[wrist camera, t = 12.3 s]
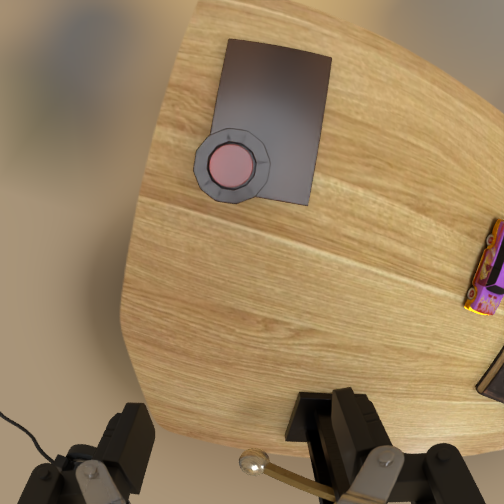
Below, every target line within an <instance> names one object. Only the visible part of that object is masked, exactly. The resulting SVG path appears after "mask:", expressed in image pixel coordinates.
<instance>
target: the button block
mask: <svg viewBox="0 0 504 504" xmlns="http://www.w3.org/2000/svg"><path fill="white" fill-rule="evenodd" d="M331 62H332V57H328V56H324V55H320V54H315V53H311V52H307V51H302V50H297V49H292V48H287V47H282V46H277V45H271V44H265V43H259V42H252V41H245V40H237V39H229V40H228V45H227V49H226V54H225V59H224V64H223V68H222V73H221V78H220V83H219V89H218V94H217V99H216V104H215V110H214V115H213V121H212V127H211V132H210V135H209V136H208V137H207V138H206V139H205V140H204V142H203V143H202V144H201V145H200V147H199V148H198V149H197V151H196V155H195V161H194V168H193V172H194V174H195V177H196V179H197V182H198V184H199V187H200V189H201V190H202V191H204V192H205V193H206V194H207V195H209V196H210V197H211V198H212V199H214V200H215V201H218V202H224V203H231V204H238V203H240V202H243V201H246V200H248V199H251V198H254V197H259V198H265V199H271V200H276V201H282V202H288V203H294V204H299V205H305V206H308V203H309V198H310V192H311V187H312V181H313V176H314V170H315V165H316V159H317V153H318V147H319V141H320V135H321V129H322V123H323V117H324V110H325V104H326V97H327V90H328V84H329V77H330V70H331ZM227 144H236V145H239V146H241V147H243V148H245V149H246V150H247V151H248V152H249V154H250V155H251V157H252V160H253V171H252V174H251V176H250V178H249V179H248V180H247V181H246V182H245V183H244V184H242V185H240V186H237V187H225V186H222V185H220V184H218V183H217V182H216V181H215V180H214V179H213V177H212V176H211V173H210V170H209V162H210V158H211V156H212V154H213V153H214V152H215V151H216V150H217V149H218V148H219V147H221V146H223V145H227Z"/></svg>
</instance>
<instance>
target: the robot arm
mask: <svg viewBox="0 0 504 504" xmlns="http://www.w3.org/2000/svg"><path fill="white" fill-rule="evenodd" d="M0 416H1V417H2V418H3V419H5V420H6V421H7V422H9V423H11V424H12V425H14V426H16V427H18V428H19V429H21V430H22V431H23V432H25V433H26V434H27V435H28V436H29V437H30V438H31V439H32V441H33V442H34V444H35V446H36V448H37V450H38V451H39V452H40V453H41V454H42V455H43V456H44V457H45V458H46V459H47V460H48V461H49V462H51V463H52V464H50V463H44V464H40V465H38V466H37V467H36V468H35V469H34V470H33V471H32V473H31V476H30V478H29V480H28V482H27V484H26V486H25V488H24V490H23V492H22V495H21V497H20V499H19V501H18V503H17V504H131V503H130V501H129V500H128V499H129V495H130V493H131V494H139V493H140V490H141V486H142V483H143V479H144V475H145V472H146V468H147V465H148V461H149V457H150V454H151V451H152V447H153V444H154V440H155V428H154V425H153V423H152V420H151V418H150V415H149V413H148V410H147V408H146V405H145V404H144V403H126V405H125V407H124V409H123V412H122V413H117V414H116V415H115V416H114V417H112V418H111V419H110V421H109V423H108V425H107V427H106V430H105V431H104V434H103V437H102V438H101V440H100V442H99V444H98V447H97V449H96V451H95V453H94V455H93V458H92V460H90V459H86V458H80V457H79V458H72V457H69V458H68V459H67V457H64V456H62V455H57V457H56V459H55V461H54V460H53V459H51V458H50V457H49V456H48V455H47V454H46V453H45V452H44V451H43V450H42V449H41V448H40V446H39V444H38V442H37V440H36V438H35V437H34V436H33V435H32V434H31V433H30V432H29V431H28V430H27V429H25V428H24V427H22V426H21V425H20V424H18V423H16V422H14V421H13V420H11V419H9V418H8V417H6V416H5V415H4V414H2V413H1V412H0ZM331 419H332V426H333V430H334V433H335V437H336V440H337V443H338V447H339V450H340V453H341V457H342V460H343V463H344V467H345V470H346V474H347V477H348V480H349V484H350V485H351V486H350V488H349V490H348V491H347V492H346V493H344V494H343V495H342V496H341V497H340V499H339V500H338V502H337V503H336V504H387V503H388V502H408V501H409V502H411V504H486V503H485V501H484V499H483V497H482V495H481V493H480V491H479V489H478V487H477V485H476V483H475V481H474V480H473V477H472V475H471V473H470V471H469V470H468V467H467V465H466V463H465V462H464V460H463V458H462V456H461V454H460V452H459V450H458V449H457V448H456V447H455V446H453V445H451V444H447V443H440V444H436V445H434V446H432V447H431V448H430V449H429V450H428V451H427V453H421V454H407V453H403V452H402V451H401V450H400V449H398V448H396V447H394V446H393V445H392V443H391V441H390V439H389V437H388V435H387V433H386V431H385V428H384V426H383V424H382V422H381V420H380V418H379V416H378V414H377V413H376V410H375V407H374V405H373V403H372V402H371V401H369V400H368V399H367V398H366V397H364V396H362V397H357V398H356V397H355V395H354V393H353V390H352V388H351V387H347V388H342V389H336V390H333V393H332V413H331Z"/></svg>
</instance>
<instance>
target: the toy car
mask: <svg viewBox="0 0 504 504" xmlns="http://www.w3.org/2000/svg"><path fill="white" fill-rule="evenodd" d="M486 244H487V246H488V248H487V249H485V250H484V252H483V255H482V258H481V261H480V263H479V266H478V269H477V271H476V274H475V276H474V279H473V281H472V284H473V286H474V287H471V288H470V289H469V290H468V292H467V298H468V300H467V301H466V303H465V306H464V308H466V309H468V310H470V311H472V312H475V313H478V314H482V315H493V314H494V313H495V311H496V309H497V308H498V306H499V304H500V302H501V300H502V298H503V295H504V220H502V219H498V220H497V221H496V223H495V225H494V228H493V231H492V234H489V235H488V237H487V239H486Z"/></svg>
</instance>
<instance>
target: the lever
mask: <svg viewBox="0 0 504 504" xmlns="http://www.w3.org/2000/svg"><path fill="white" fill-rule="evenodd" d="M239 465H240V468H241V469H242V471H243V472H245V473H246V474H248V475H253V476H256V475H260V474H262V473H264V474H267V475H268V476H271V477H273V478H275V479H277V480H279V481H282V482H284V483H286V484H288V485H291V486H293V487H296V488H298V489H300V490H303V491H306V492H308V493H310V494H313V495H316V496H318V497H321V498H324V499H326V500H329V501H332V502H333V504H336V499H335V495H334V491H333V488H331V487H328V486H325V485H323V484H320V483H317V482H315V481H312V480H310V479H307V478H305V477H302V476H300V475H297V474H295V473H293V472H290V471H288V470H286V469H283V468H281V467H279V466H277V465H274V464H272V463H270V460H269V457H268V455H267V454H266V452H264V451H263V450H261V449H258V448H251V449H248V450H246V451H244V452H243V453H242V454H241V456H240V459H239Z"/></svg>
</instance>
